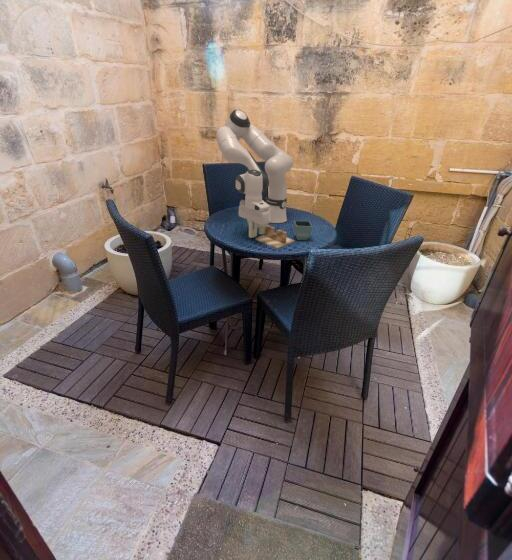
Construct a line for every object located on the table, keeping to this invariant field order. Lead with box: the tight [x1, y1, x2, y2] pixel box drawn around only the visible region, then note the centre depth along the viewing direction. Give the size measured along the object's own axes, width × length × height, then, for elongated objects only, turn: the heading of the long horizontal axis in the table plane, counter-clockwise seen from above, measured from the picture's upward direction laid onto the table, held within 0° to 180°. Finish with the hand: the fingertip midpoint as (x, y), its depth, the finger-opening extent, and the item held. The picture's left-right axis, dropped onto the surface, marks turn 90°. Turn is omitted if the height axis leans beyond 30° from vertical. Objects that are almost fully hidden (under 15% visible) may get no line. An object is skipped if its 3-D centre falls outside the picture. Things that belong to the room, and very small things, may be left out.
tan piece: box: [255, 224, 295, 250], centre depth 171 cm, size 16×14×7 cm
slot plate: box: [248, 219, 266, 239], centre depth 174 cm, size 2×12×10 cm, turn 134°
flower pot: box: [293, 220, 313, 241], centre depth 175 cm, size 9×9×9 cm
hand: (252, 228), depth 171 cm, fingers closed on slot plate, 2 cm apart
